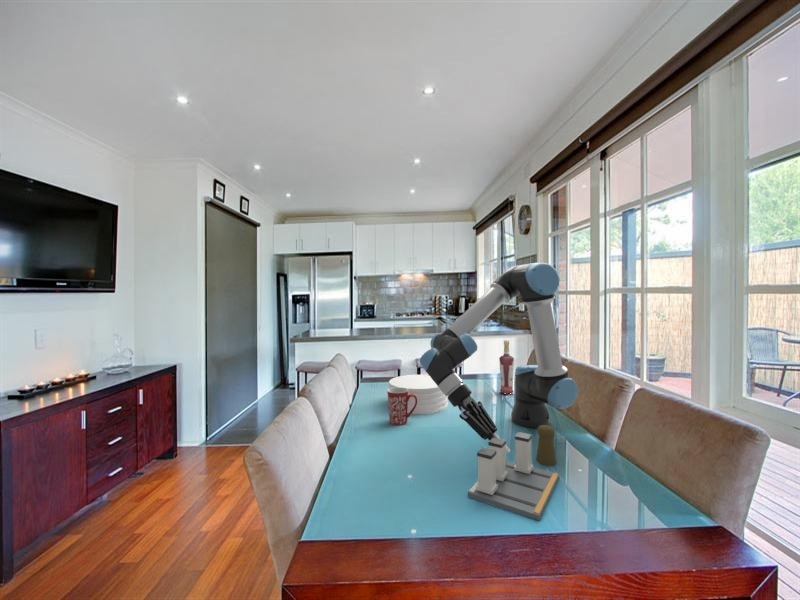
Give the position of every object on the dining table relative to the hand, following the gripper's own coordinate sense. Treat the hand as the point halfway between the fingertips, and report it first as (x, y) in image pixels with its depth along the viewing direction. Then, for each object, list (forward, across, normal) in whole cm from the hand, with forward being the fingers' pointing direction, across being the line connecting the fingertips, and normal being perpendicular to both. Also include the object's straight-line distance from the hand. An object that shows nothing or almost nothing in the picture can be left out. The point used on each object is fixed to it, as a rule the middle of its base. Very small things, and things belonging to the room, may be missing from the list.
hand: (506, 453), depth 106 cm
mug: (-31, -16, -38) cm, 52 cm away
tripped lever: (+6, 0, +1) cm, 6 cm away
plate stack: (-36, -40, -44) cm, 69 cm away
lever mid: (+2, +8, -2) cm, 9 cm away
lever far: (+2, +16, -2) cm, 16 cm away
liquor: (-15, -81, -23) cm, 86 cm away
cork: (+10, -13, +2) cm, 16 cm away
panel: (+7, +8, 0) cm, 10 cm away
